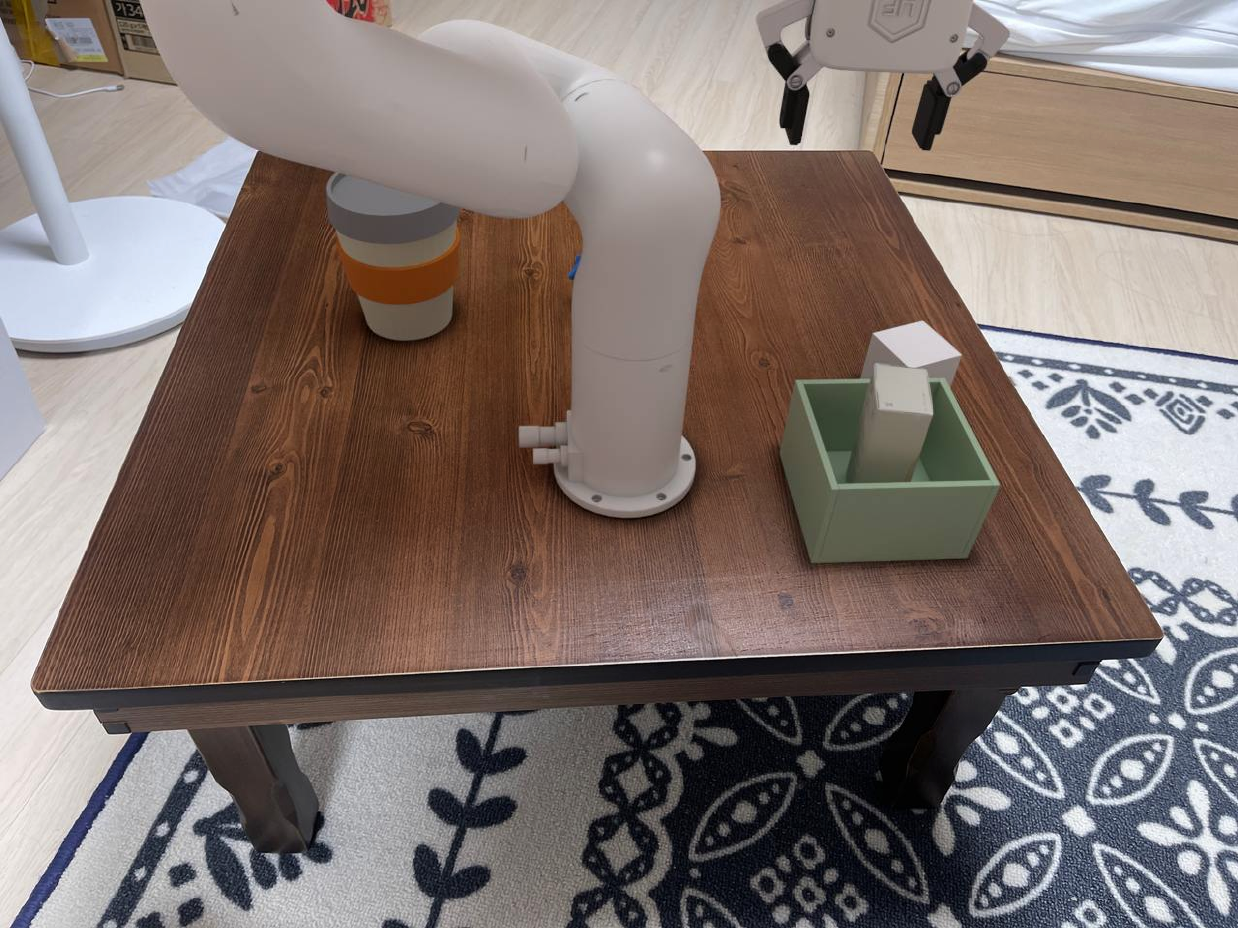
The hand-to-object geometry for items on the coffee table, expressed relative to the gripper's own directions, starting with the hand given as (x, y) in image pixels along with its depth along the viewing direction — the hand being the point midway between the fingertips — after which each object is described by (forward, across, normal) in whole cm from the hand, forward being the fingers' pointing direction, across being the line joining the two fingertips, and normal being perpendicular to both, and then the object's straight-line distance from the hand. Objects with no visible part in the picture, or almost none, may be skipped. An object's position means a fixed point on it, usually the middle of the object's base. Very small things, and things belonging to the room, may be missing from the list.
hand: (856, 140), depth 69 cm
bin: (+28, +5, -10) cm, 30 cm away
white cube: (+28, +12, +5) cm, 31 cm away
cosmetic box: (+28, +5, -10) cm, 30 cm away
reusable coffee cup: (+28, -38, +16) cm, 50 cm away
